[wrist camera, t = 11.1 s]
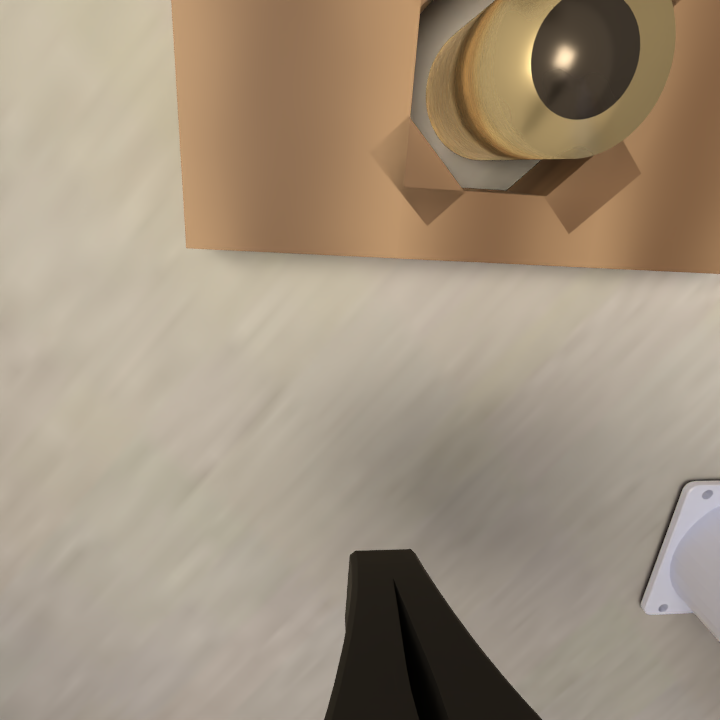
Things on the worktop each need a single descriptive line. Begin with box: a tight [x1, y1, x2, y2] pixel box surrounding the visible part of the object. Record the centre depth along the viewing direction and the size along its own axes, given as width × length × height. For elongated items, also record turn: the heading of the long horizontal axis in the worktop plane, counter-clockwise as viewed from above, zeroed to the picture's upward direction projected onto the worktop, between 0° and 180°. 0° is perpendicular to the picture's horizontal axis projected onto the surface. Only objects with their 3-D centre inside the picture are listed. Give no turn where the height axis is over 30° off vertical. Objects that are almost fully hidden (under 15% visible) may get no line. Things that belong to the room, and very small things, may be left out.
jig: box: [171, 0, 720, 274], centre depth 14 cm, size 18×14×3 cm
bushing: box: [426, 0, 676, 160], centre depth 13 cm, size 4×4×6 cm
